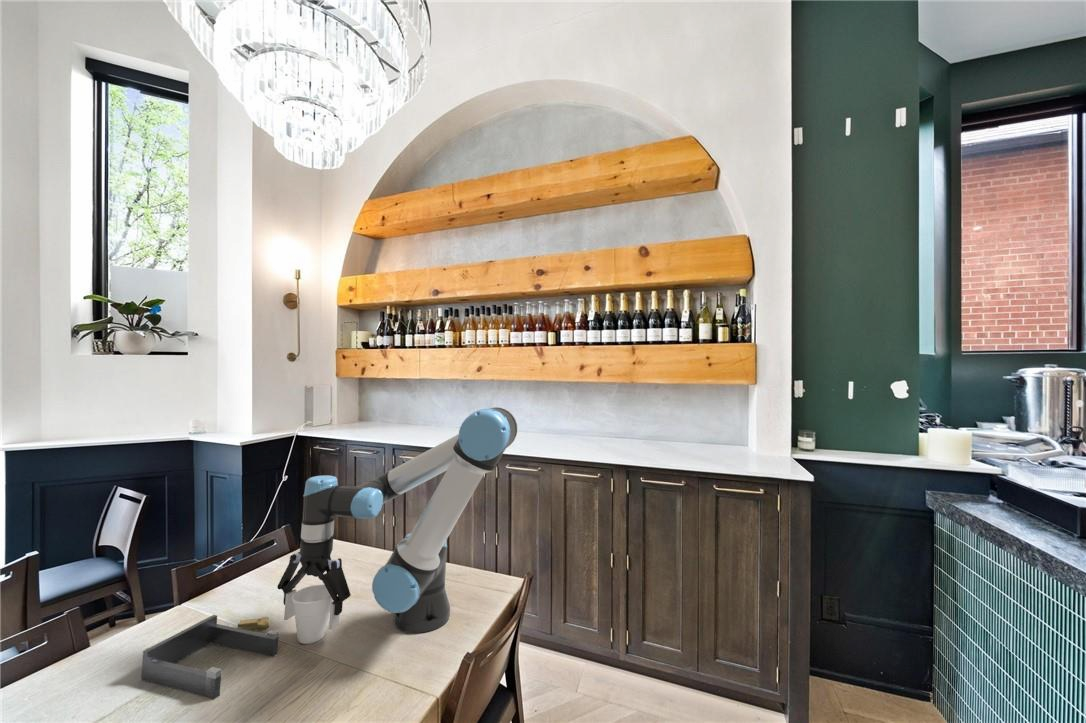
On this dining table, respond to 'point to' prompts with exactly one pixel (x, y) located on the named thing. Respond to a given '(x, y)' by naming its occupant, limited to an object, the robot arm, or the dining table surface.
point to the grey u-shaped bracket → (181, 645)
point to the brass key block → (254, 624)
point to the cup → (311, 613)
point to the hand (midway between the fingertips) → (311, 622)
